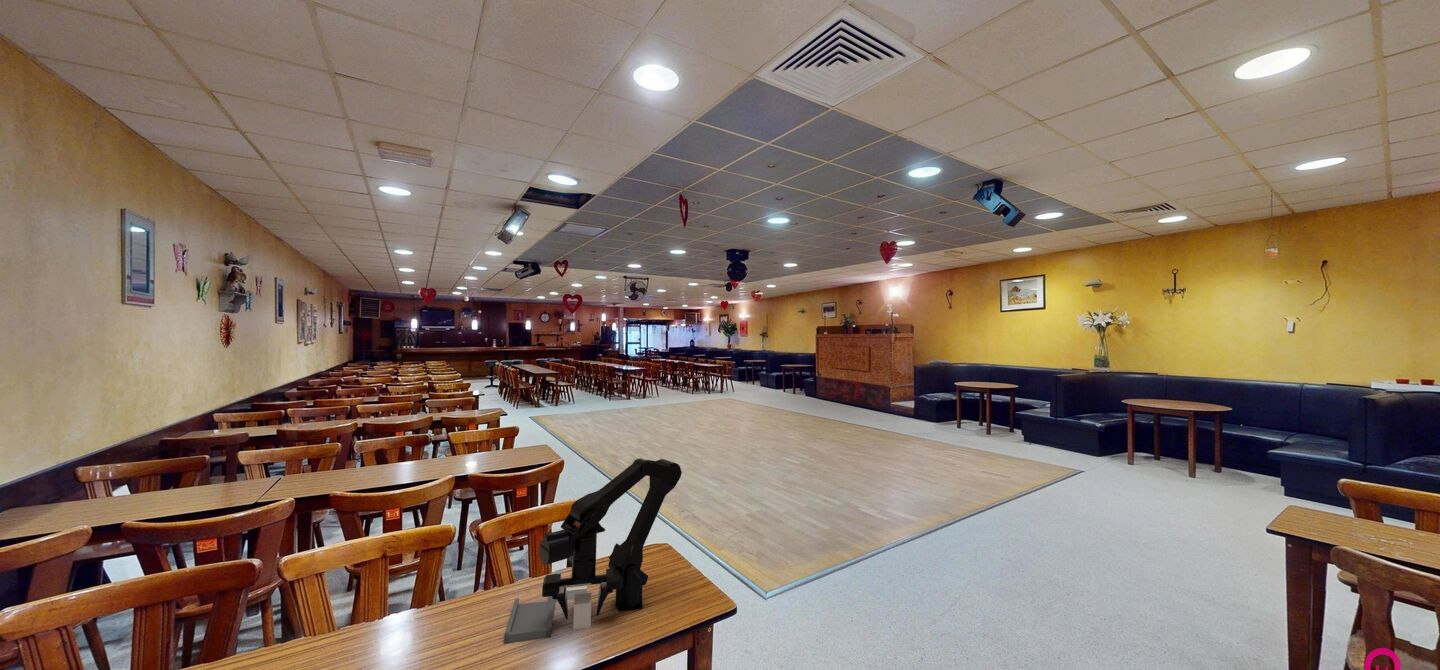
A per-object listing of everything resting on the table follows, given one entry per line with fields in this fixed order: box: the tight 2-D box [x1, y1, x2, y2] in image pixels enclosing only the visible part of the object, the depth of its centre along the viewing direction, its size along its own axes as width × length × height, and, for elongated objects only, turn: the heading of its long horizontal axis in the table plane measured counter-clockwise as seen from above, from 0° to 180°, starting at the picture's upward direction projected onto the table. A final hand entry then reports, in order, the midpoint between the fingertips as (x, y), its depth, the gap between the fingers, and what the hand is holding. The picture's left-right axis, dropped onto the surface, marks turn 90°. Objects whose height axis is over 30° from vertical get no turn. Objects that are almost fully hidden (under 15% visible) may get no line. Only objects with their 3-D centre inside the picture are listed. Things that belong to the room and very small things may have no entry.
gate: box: [547, 569, 588, 601], centre depth 129 cm, size 10×8×4 cm
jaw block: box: [572, 592, 592, 630], centre depth 115 cm, size 4×5×6 cm
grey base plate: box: [503, 596, 557, 645], centre depth 115 cm, size 10×16×2 cm, turn 15°
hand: (582, 616), depth 115 cm, fingers open, 7 cm apart
